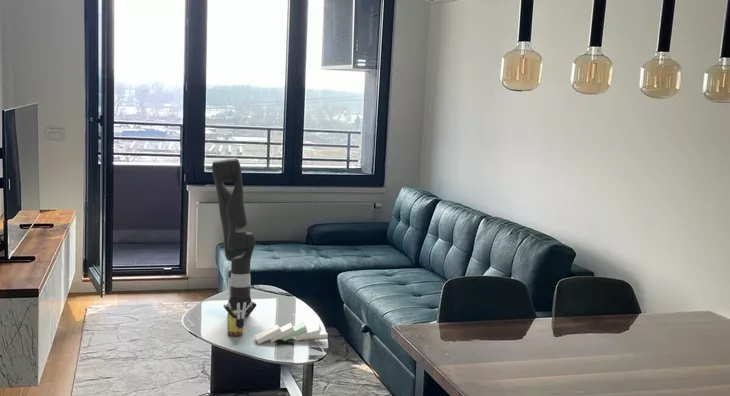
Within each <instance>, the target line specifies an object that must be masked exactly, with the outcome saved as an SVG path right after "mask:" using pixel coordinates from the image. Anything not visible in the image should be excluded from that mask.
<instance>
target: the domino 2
mask: <svg viewBox="0 0 730 396" xmlns="http://www.w3.org/2000/svg"><path fill="white" fill-rule="evenodd" d="M293 326H294V325H292V322H289V323H287V324H284V325H283V326H281V327H280V326H279V327H280V329H281V331H282V333H280V334H278V335H276V336H274V337H272V338H270V339H269V340H270V342H271V343H274V342H276V341H277V340H280V339H281V338H282V337H284V336H286V335H288V334H290V333H292V332H294V328H293ZM282 339H283V338H282Z"/></svg>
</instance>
